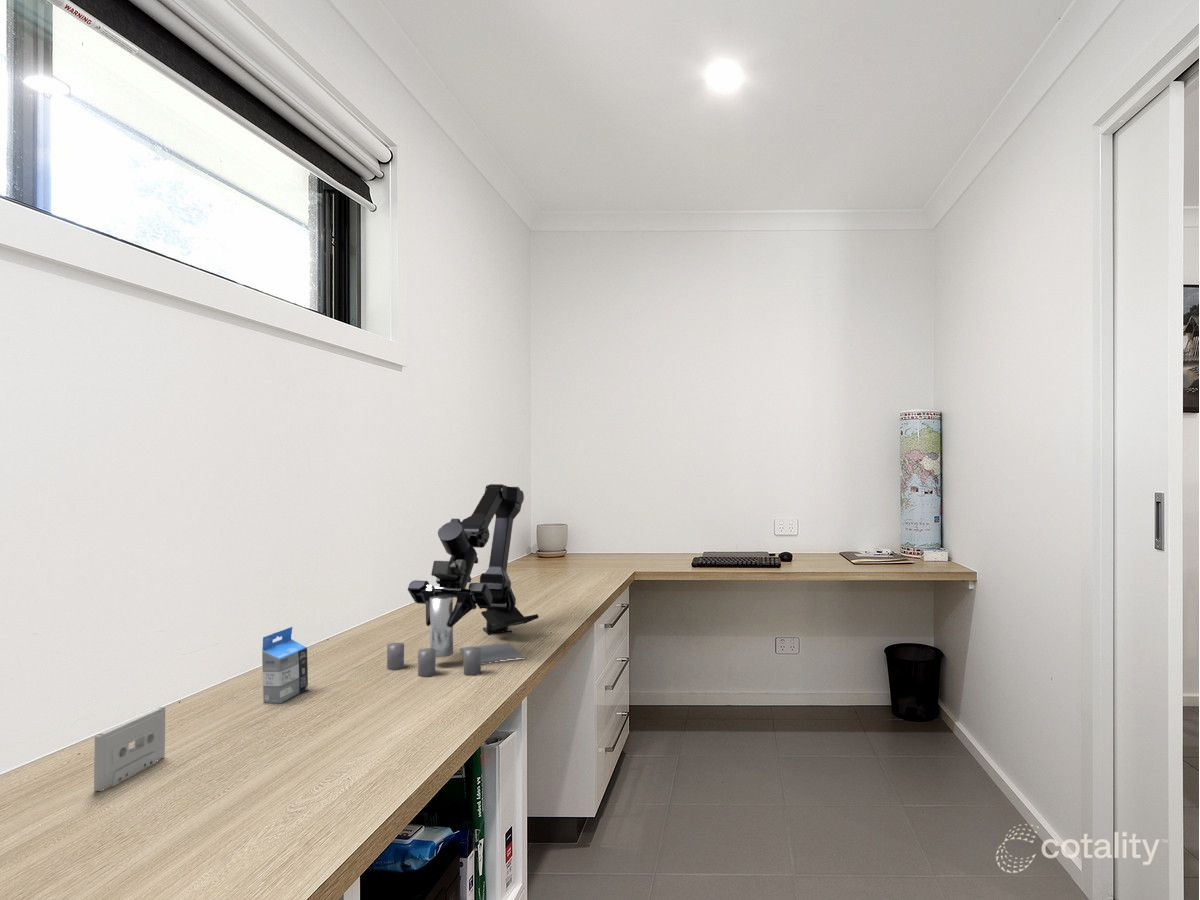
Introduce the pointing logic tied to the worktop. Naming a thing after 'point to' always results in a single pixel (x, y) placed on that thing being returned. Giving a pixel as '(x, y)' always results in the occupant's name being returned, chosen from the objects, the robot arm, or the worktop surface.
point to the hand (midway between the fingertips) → (438, 625)
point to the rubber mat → (497, 652)
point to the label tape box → (283, 667)
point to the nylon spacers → (431, 660)
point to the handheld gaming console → (506, 618)
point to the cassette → (122, 761)
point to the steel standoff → (441, 625)
